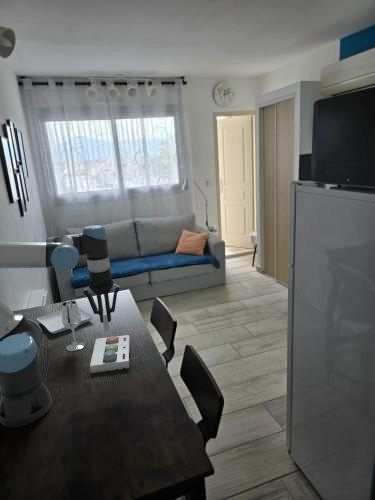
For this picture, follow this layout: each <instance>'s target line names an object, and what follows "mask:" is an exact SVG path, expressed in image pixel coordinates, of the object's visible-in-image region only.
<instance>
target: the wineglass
mask: <svg viewBox="0 0 375 500" xmlns="http://www.w3.org/2000/svg"><path fill="white" fill-rule="evenodd" d="M78 307H79V306H78V303H77V301H76V300H67V301H64V302H63V303H62V304H61V310H62V313H61V320H62V324H63V326H65V327H66V328H68V330H71V332H72V336H73V342H71V343H69V344H67V346H66V350H67V351H68V352H76V351H79V350H82V349H83V348H84V347H85V345H86V344H85V342H84V341H78V340H77V341H76V335H75V329H76V328H78V327H79V326H80V325H79V324H80V323H81V314H80V311H79V308H78Z"/></svg>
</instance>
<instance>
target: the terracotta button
mask: <svg viewBox="0 0 375 500" xmlns="http://www.w3.org/2000/svg"><path fill="white" fill-rule="evenodd" d="M106 338H107V337H106ZM116 343H118V339H117V337H116V336H115V335H112V336H109V338H107V345H108V344H116Z"/></svg>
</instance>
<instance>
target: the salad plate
mask: <svg viewBox="0 0 375 500" xmlns="http://www.w3.org/2000/svg"><path fill="white" fill-rule="evenodd" d="M78 308H79V311H80V314H81V323H80V324H79V326H81V325H84V324H86V323H88V322H90V321H91V320H93V318H94V316H93V315H92V314H91V313H90V312H88V311H85V310H84V309H82V308H81V307H80V306H78ZM61 313H62V309H61V310H57V311H54V312H51V313H49V314H45V315H42V316H39V317H37V318H36V321H38V322H39V323H40V324H41V325H42V326H44V327H45V328H46V329H47V331H49V332H50V333H51V334H59V333H63V332H65V331H68V330H69V329H68V328H66V327H65V326H63V324H62V320H61Z"/></svg>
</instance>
